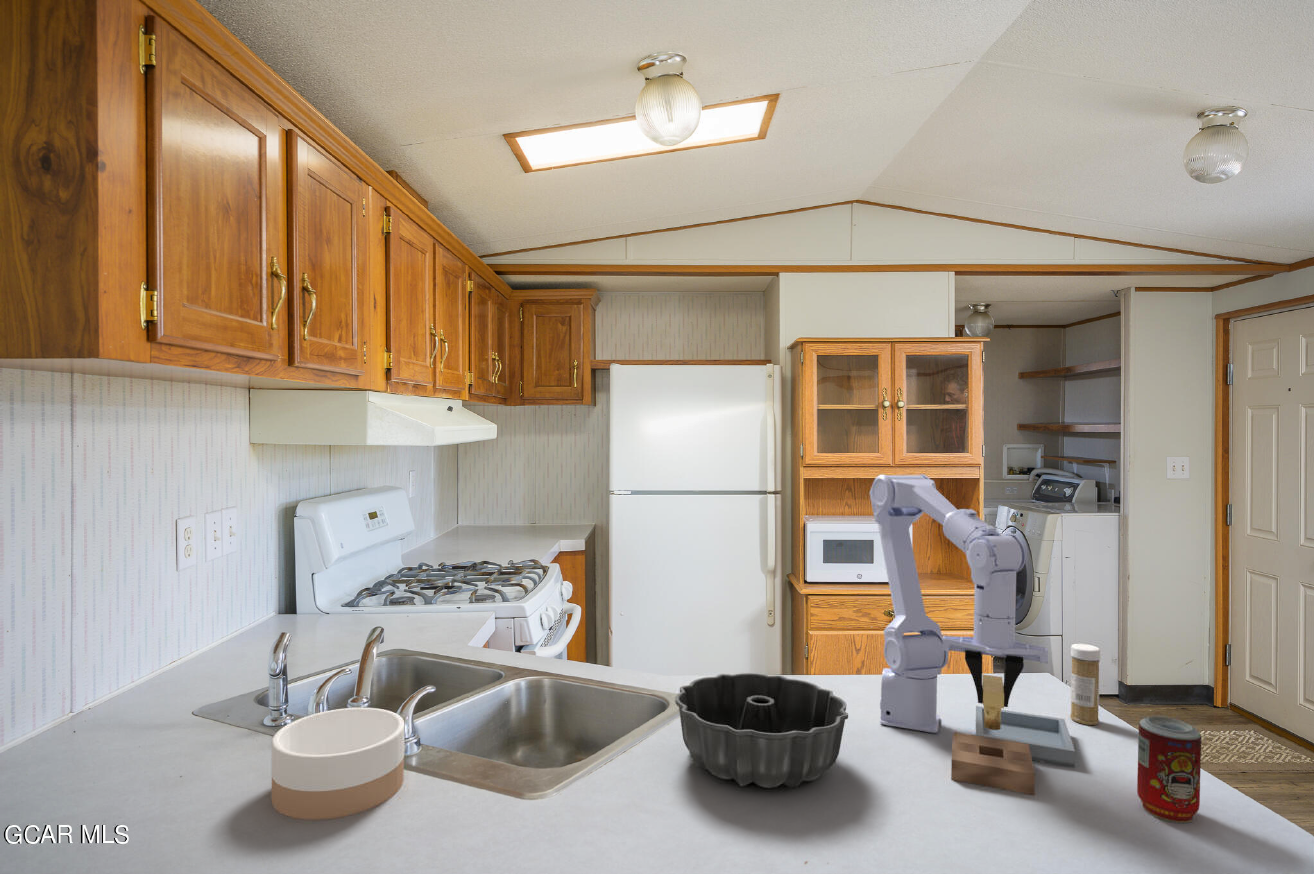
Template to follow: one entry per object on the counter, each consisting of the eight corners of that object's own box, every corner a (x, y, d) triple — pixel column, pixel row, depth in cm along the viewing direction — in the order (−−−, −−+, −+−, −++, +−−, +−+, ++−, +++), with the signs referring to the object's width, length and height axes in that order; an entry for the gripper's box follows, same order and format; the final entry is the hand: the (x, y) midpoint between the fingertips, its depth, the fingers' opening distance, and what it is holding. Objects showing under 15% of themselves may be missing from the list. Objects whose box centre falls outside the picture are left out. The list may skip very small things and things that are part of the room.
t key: (981, 716, 117) (982, 674, 117) (1001, 719, 115) (1002, 677, 115) (982, 735, 109) (983, 690, 109) (1003, 738, 108) (1004, 693, 108)
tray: (976, 750, 120) (976, 735, 120) (975, 719, 132) (975, 705, 132) (1074, 767, 114) (1075, 751, 114) (1064, 733, 127) (1064, 719, 127)
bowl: (428, 772, 110) (429, 716, 109) (344, 831, 93) (345, 765, 93) (335, 754, 115) (336, 700, 115) (241, 806, 99) (241, 744, 99)
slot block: (951, 779, 109) (951, 759, 109) (952, 750, 120) (953, 731, 120) (1034, 795, 105) (1034, 774, 105) (1028, 763, 115) (1028, 744, 115)
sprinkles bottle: (1103, 722, 132) (1105, 647, 132) (1090, 727, 130) (1092, 651, 129) (1077, 714, 136) (1079, 641, 136) (1064, 719, 133) (1066, 645, 133)
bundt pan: (746, 716, 133) (747, 660, 133) (879, 765, 114) (881, 701, 114) (639, 760, 114) (640, 696, 114) (777, 828, 96) (779, 751, 95)
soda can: (1159, 825, 97) (1161, 733, 97) (1125, 798, 104) (1127, 712, 104) (1212, 826, 97) (1215, 734, 97) (1175, 799, 104) (1177, 713, 104)
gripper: (942, 614, 111) (940, 704, 112) (1050, 626, 106) (1048, 720, 106) (944, 604, 118) (942, 689, 118) (1046, 615, 112) (1044, 703, 112)
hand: (992, 703), depth 112 cm, fingers closed on t key, 3 cm apart
